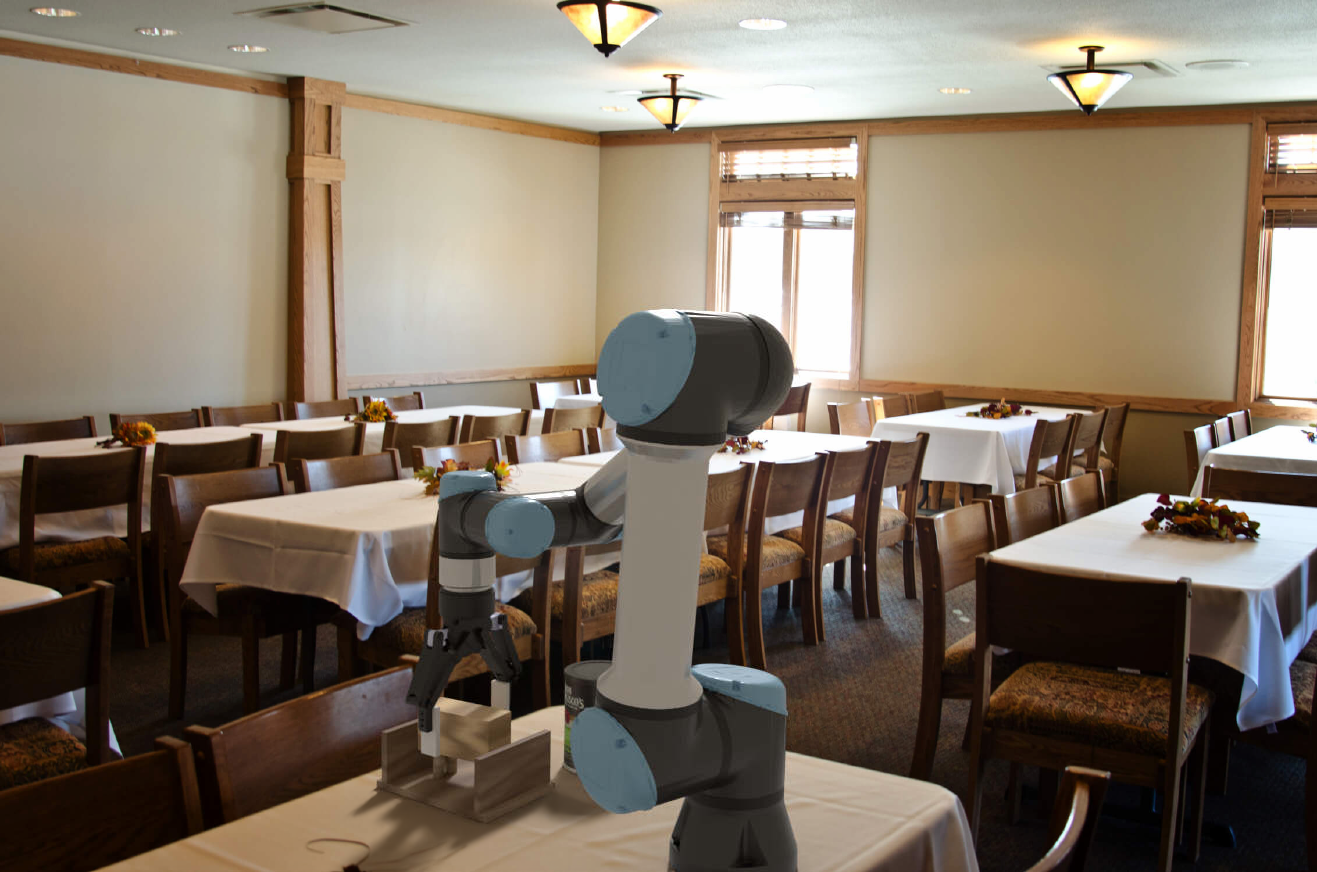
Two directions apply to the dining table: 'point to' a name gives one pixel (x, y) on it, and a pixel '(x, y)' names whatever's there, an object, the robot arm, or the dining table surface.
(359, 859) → the dining table surface
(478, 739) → the beam
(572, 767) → the coffee can
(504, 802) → the peg frame
